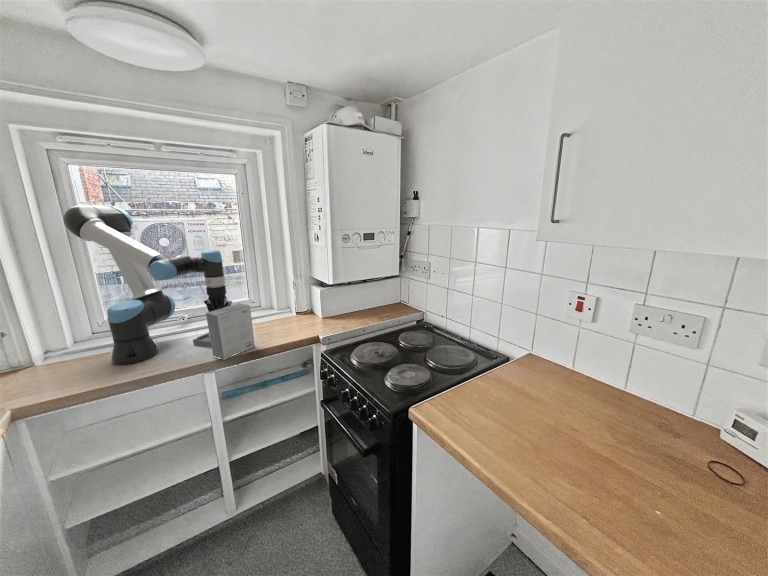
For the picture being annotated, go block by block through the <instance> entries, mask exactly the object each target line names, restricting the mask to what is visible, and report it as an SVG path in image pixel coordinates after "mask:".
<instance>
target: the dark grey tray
mask: <svg viewBox="0 0 768 576" xmlns="http://www.w3.org/2000/svg"><path fill="white" fill-rule="evenodd" d="M192 343H193V346H198V347H207V348H212V345H211V341H210V339H209V332H206V333H204V334H201V335H199V336H197V337H196V338H193V339H192Z"/></svg>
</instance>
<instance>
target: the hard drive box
mask: <svg viewBox="0 0 768 576" xmlns="http://www.w3.org/2000/svg"><path fill="white" fill-rule="evenodd" d="M205 316H206V322H207V329H208V333H209V334H210V340H211V345H212V347H211V351H212V356H216V357H219V358H221V359H222V360H221V361H225V360H228V359H230V358H229V357H230V356H232V355H234V354H237V353H239V352H242V351H245V350H247V351H249V350H248V349H250V348H252V349H254V348H256V344H255V343H256V342H255V336H254V328H253V320H252V311H251V307H250V305H249V304H245V303H240V302H239V303H236V304H235V303H234V304H231V306H228V307H224V308H221V309H218V310H214V311H211V312H209V311H208V312H205ZM253 347H254V348H253ZM250 350H251V349H250ZM245 352H246V351H245ZM242 353H243V352H242ZM237 355H238V354H237Z"/></svg>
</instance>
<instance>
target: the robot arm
mask: <svg viewBox="0 0 768 576" xmlns="http://www.w3.org/2000/svg"><path fill="white" fill-rule="evenodd" d="M63 223H64V225H65V227H66V229H67V230H68V231H69V232H70V233H72V234H73V235H74V236H76V237H77V238H79V239H81V240H84V241H85V242H93V243H95V244H97V245H100V246H101V247H103V248H105V249H107V250H108V251H109V253H110V256H111V257H112V258H113V260H114V261H115V264H116V266H117V268H118V269H119V271H120V273H121V276H123V278H124V281H125V282H126V285H128V288H129V289H130V292H131V293H132V297H131V298H130V300H126V301H121V302H118V303H114V304H112V305H111V306H110V307H108V309H107V310H106V315H107V321H108V325H109V329H110V333H111V337H112V340H113V347H112V353H111V363H112V364H114V365H120V366H123V365H132V364H136V363H140V362H144V361H146V360H149V359H151V358H152V357H155V356H156V355H157V354H158V352H159V349H158V346H157V344H156V343H155V341H154V340H153V339H152V337H151V335H150V331H149V327H151V326H153V325H155V324H158V323H161V322H163V321H166V320H167V319H169V318H170V317H171V316H173V314H174V313H175V311H176V310H175V309H176V303H175V300H174V299H173V297H171V296H169V295H168V294H165V293H163V290H162V289H160V288H157V287H156V286H155V285H156V284H154V281H153V279H155V280H157V281H166V280H171V279H173V278H177V277H182V276H185V275H188V274H189V275H190V274H192V273H195V274H196V273H203V275H204V283H205V286H206V287H205V290H206V295H207V296H208V297H207V299H206V300H204V301H203V302H204V304H205V305H206V308H207V310H208V312H211V311H214V310H218V309H221V308H224V307H228V306H231V305H232V304H233V302H232V300H228V299H227V296H226V294H227V289H226V281H225V274H224V267H223V259H222V254H221V252H220V251H219V250H215V249H214V250H203V251H201V252H200V255H193V254H192V255H187V254H182V255H181V254H180V255H176V256H175V257H173V258H172V257H171V258H170V257H167V256H166V255H163V254H162V253H159V252H157V250H154V249H152V248H150V247H148V246H146V245H144V244H143V243H140V242H138V241H137V240H135V239H133V238H131V236H132V234H133V233H132V230H133V225H134V222H133V219H132V217H131V215H130V214H129V213H128V212H127V211H126V210H124V209H123V208H120V207H116V206H113V205H85V204H81V205H75V206H72V207H70V208H68V209H67V210H66V212H65V213H64V215H63ZM150 275H151V276H150ZM151 277H152V278H153V279H152V278H151Z"/></svg>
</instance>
